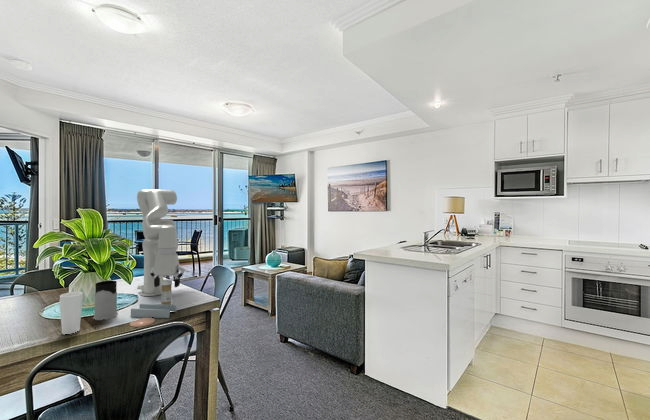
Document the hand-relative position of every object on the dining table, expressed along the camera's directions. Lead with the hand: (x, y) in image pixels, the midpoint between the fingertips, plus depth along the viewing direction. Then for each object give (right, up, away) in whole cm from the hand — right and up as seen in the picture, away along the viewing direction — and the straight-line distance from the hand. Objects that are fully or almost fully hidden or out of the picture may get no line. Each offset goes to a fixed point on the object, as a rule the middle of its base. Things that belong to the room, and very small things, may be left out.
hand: (167, 286), depth 141 cm
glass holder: (-22, -10, -9) cm, 26 cm away
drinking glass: (-22, -11, -28) cm, 37 cm away
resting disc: (-1, -11, -17) cm, 20 cm away
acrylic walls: (-1, -11, -8) cm, 14 cm away
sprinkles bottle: (-1, -11, +1) cm, 11 cm away
